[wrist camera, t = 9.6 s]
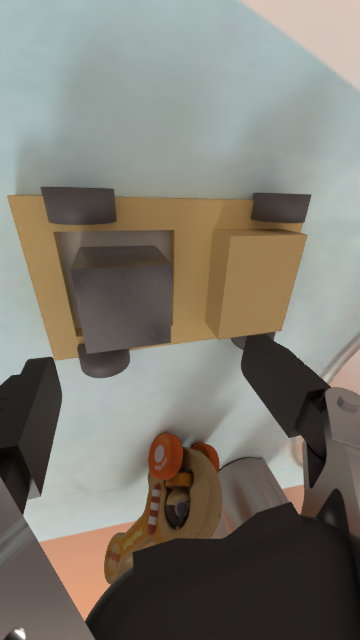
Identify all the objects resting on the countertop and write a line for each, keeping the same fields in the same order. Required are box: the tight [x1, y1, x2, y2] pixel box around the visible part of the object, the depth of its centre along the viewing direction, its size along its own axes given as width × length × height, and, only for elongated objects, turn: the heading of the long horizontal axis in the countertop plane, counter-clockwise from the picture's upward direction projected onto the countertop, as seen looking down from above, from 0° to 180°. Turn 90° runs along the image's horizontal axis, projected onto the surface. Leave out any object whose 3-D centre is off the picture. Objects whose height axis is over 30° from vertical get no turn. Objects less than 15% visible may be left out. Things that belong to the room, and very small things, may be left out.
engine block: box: [70, 245, 172, 354], centre depth 17 cm, size 6×6×6 cm
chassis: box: [7, 187, 311, 378], centre depth 19 cm, size 21×13×4 cm, turn 88°
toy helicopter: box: [104, 433, 223, 584], centre depth 28 cm, size 8×21×14 cm, turn 140°
